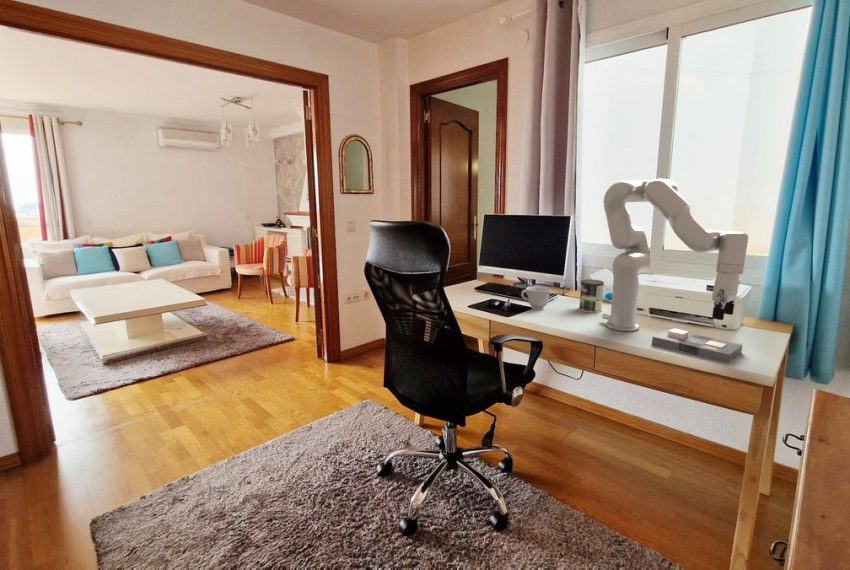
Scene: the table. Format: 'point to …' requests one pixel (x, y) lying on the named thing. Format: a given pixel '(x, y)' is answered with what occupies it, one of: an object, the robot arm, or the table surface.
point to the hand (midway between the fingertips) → (722, 316)
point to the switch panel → (698, 346)
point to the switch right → (715, 344)
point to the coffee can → (591, 295)
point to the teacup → (537, 296)
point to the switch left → (678, 334)
